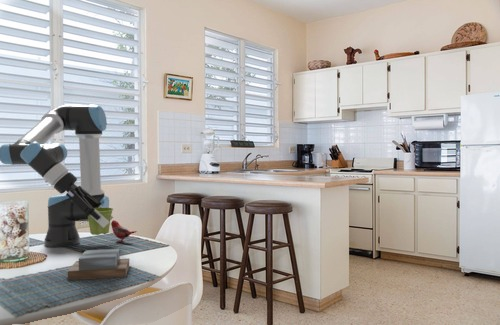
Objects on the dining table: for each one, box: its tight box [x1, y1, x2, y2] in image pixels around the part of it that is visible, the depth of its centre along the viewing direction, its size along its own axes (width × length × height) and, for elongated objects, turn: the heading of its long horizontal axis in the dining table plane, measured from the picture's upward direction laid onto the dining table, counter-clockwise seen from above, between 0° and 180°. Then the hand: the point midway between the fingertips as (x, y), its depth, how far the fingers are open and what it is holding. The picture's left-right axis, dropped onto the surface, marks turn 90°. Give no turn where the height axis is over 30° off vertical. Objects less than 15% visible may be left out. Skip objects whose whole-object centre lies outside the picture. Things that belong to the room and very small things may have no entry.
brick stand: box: [67, 248, 130, 281], centre depth 147 cm, size 13×19×7 cm
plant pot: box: [87, 207, 114, 236], centre depth 146 cm, size 9×9×9 cm
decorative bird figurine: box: [110, 219, 138, 243], centre depth 194 cm, size 3×18×10 cm, turn 59°
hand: (108, 222), depth 147 cm, fingers closed on plant pot, 9 cm apart
